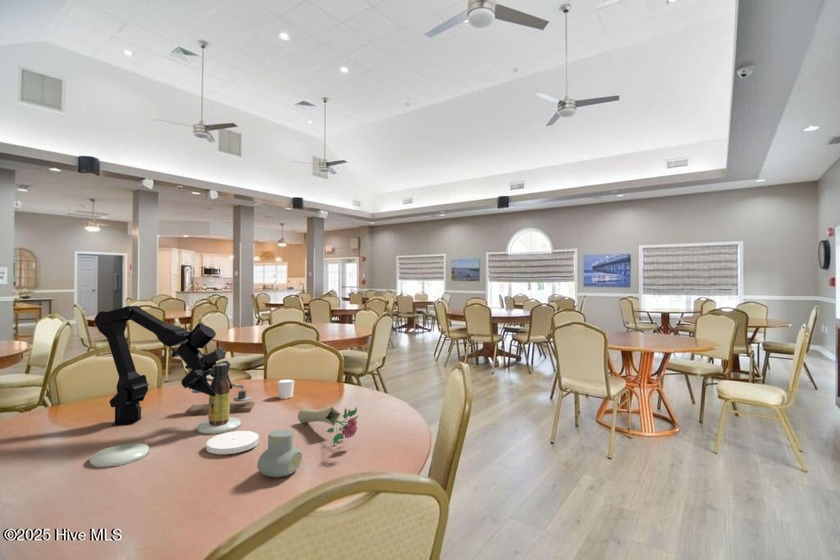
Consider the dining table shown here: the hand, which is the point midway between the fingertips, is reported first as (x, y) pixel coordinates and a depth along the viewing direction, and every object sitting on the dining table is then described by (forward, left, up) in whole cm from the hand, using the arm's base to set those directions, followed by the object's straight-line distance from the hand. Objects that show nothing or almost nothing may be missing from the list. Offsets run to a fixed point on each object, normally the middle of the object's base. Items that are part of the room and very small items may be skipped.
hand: (223, 391), depth 135 cm
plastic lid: (+7, -18, -12) cm, 23 cm away
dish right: (-1, 0, -12) cm, 12 cm away
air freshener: (+22, -38, -12) cm, 46 cm away
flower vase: (+34, -15, -12) cm, 39 cm away
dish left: (-22, -20, -12) cm, 31 cm away
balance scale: (-5, +20, -12) cm, 24 cm away
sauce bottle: (-1, +1, -11) cm, 11 cm away
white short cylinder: (+17, +34, -12) cm, 40 cm away
